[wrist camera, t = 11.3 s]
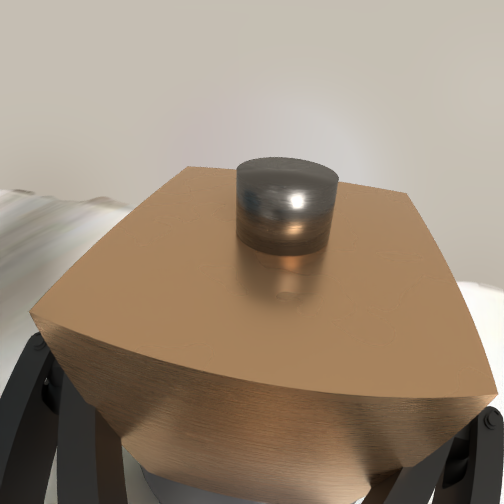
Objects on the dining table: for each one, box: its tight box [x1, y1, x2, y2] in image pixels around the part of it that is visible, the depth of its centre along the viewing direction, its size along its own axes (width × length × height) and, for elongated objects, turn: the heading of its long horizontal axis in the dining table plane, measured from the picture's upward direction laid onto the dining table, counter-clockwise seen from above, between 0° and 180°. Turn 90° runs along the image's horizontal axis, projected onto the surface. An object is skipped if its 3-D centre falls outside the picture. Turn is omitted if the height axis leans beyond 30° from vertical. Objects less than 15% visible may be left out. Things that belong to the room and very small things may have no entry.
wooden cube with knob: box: [29, 157, 498, 504], centre depth 10 cm, size 9×9×13 cm
